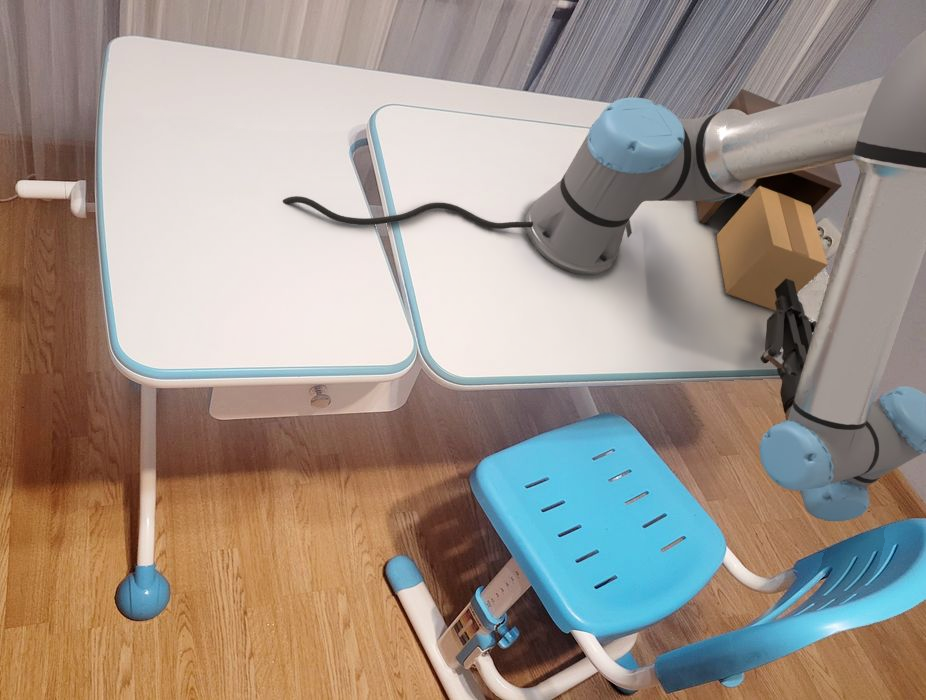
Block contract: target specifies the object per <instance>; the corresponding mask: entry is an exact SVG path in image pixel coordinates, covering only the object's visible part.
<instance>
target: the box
mask: <svg viewBox="0 0 926 700" xmlns="http://www.w3.org/2000/svg"><path fill="white" fill-rule="evenodd" d="M814 215H815V214H814ZM814 215H813V212H812V208H811V206H810V205H808V204H805V203H803V202H800V201H798V200H795V199H793V198H791V197H788V196H786V195H783V194H780V193H777V192H774V191H772V190H769V189H766V188H764V187H761V186H759V187H758V188H756V189H755V190H754V191H753V193H752V194H750V196H749V197H748V198H747V200H745V202H744V203H743V204H742V205H741V207H739V209H738V210H737V211H736V212H735V213H734V215H733V216H732V217H731V218H729V220H728V222H727V223H726V224H725V225H724V226H723V227H722V228H721V230H720V231H718V233H716V235H715V237H716V241H717V247H718V248H717V249H718V253H719V254H718V255H719V260H720V265H721V273H722V277H723V283H724V289H725V290H724V291H725V295H730V296H732V297H735V298H738V299H740V300H744V301H747V302H749V303H752V304H755V305H758V306H761V307H764V308H766V309H769V310H772V311H774V312H775V311H776V305H775V301H776V300H777V298H776V293H775V289H776V288H777V287H778V286H779V285H780V284H781V283H782V282H783V281H784V280H785V279H789V280H792V281H794V283H795V287H796V291H797V294H798V293H799V292H801V290H802V289H803V288H805V286H807V285H808V284H809V283H810V282H811V281H812V280H814V278H816V276H818V275H819V274H820V273H821V272H822V271H823V270H824V269H825V268H826V267H827V266H829V264H828V260H827V257H826V254H825V250H824V245H823V244H822V240H821V236H820V233H819V229H818V226H817V223H816V218H815V216H814Z"/></svg>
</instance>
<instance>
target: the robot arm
mask: <svg viewBox="0 0 926 700" xmlns="http://www.w3.org/2000/svg"><path fill="white" fill-rule="evenodd" d="M781 105H782V104H781ZM726 109H727V108H726ZM726 109H723V110H721V111H717V112H714V113H710V114H707V115H704V116H703V115H702V116H699V117H696V118H686V119H685V118H678V116H677V115H675V113H674V112H673V111H671V110H670V109H669V108H667V107H666V106H664V105H663V104H660V103H659V104H655V103H654V101H653V100H651V99H647V98H642V97H631V96H630V97H623V98H620V99H616V100H614V101H612V102H611V103H610V104H608V105H607V106H606V107H605V108H604V109H603V111H602V112H601V113H600V115H599V117H598V118H597V119H595V120H594V122H593V123H592V125H591V126H590V127H589V131H588V133H587V135H586V136H585V138H584V140H583V141H582V143H581V145H580V147H579V149H578V150H577V152H576V154H575V156H574V157H573V158H572V161H571V162H570V164H569V166H568V168H567V170H566V171H565V173H564V174H563V176H562V178H561V180H560V181H558V182H557V183H556V184H555V185H554V186H552V187H551V188H550V189H548V190H547V191H546V192H544V193H543V194H542V195H541V196H540V197H538V198H537V199H536V200H535V201H534V202H533V204H532V205H531V207H530V208H529V210H528V211H527V214H526V217H525V221H508V222H494V221H489V220H486V219H484V218H482V217H479V216H477V215H476V214H473V213H472V212H470V211H468V210H466V209H465V208H462V207H460V206H458V205H455V204H453V203H447V202H429V203H427V204H426V203H425V204H423V205H421V206H418V207H416V208H415V209H411V210H410V211H406V212H404V213H400V214H395V215H387V216H381V217H370V218H368V217H367V218H366V217H365V218H362V217H361V218H359V217H350V216H344V215H340V214H338V213H335V212H333V211H331V210H330V209H328V208H326V207H325V206H324V205H322V204H320V203H318V202H317V201H315V200H313V199H311V198H308V197H305V196H300V195H299V196H298V195H296V196H288V197H286V198H284V199H282V203H283V204H284V205H291V204H304V205H307V206H309V207H311V208H313V209H314V210H316V211H318V212H319V213H321V214H322V215H324V216H325V217H327V218H329V219H332V220H333V221H336V222H339V223H343V224H347V225H357V226H373V225H383V224H390V223H396V222H401V221H405V220H408V219H411V218H413V217H416V216H417V215H420V214H422V213H424V212H427V211H430V210H436V209H439V210H440V209H443V210H448V211H452V212H455V213H456V214H459V215H461V216H464V217H465V218H467V219H469V220H471V221H473V222H474V223H475V224H479V225H481V226H484V227H486V228H489V229H490V228H491V229H495V230H503V229H519V228H522V229H523V228H525V230H526V233H527V235H528V238H529V240H530V242H531V244H532V245H533V246H534V248H535V249H536V250H537V251H538V253H540V255H542V256H543V257H544V258H545V259H546V260H547V261H549V262H550V263H551V264H553V265H554V266H557V267H558V268H560V269H562V270H565V271H567V272H570V273H573V274H577V275H583V276H593V275H598V274H601V273H604V272H605V271H607V270H608V269H609V268H610V267H611V266H612V264H613V263H614V262H615V260H616V259H617V257H618V255H619V252H620V248H621V245H622V242H623V238H624V235H625V232H626V236H627V238H629V237H630V236H631V234H632V233H633V232H632V227H631V221H630V219H631V218H632V217H633V215H634V214H635V212H636V211H637V210H638V209H639V207H640V206H641V204H643V203H644V202H662V201H663V202H664V201H665V202H666V201H667V202H670V201H672V202H677V201H678V202H686V201H687V202H688V201H689V202H692V201H693V202H696V201H703V202H714V201H719V200H723V199H725V200H726V199H730V198H732V197H734V196H737V194H741V193H743V192H745V191H748V190H749V189H750V188H751V187H753V186H752V185H753V184H754V183H755V182H756V180H757V179H758V178H762V177H768V176H773V175H778V174H783V173H789V172H794V171H799V170H805V169H810V168H815V167H821V166H826V165H831V164H835V165H837V164H841V163H847V162H852V161H854V162H855V163H856V165H857V167H858V168H859V174H858V178H857V181H856V184H855V188H854V191H853V194H852V198H851V201H850V205H849V209H848V213H847V215H846V219H845V222H844V224H843V225H844V226H843V229H842V232H841V236H840V240H839V243H838V246H837V250H836V253H835V257H834V260H833V264H832V267H831V271H830V274H829V278H828V280H827V284H826V287H825V291H824V295H823V298H822V301H821V304H820V309H819V311H818V315H817V319H816V320H813V321H811V320H810V318H809V316H808V315H806V314H805V309H804V306H803V303H802V302H801V301H800V300H799V296H798V293H797V291H796V287H795V283H794V281H792V280H789V279H785V280H784V281H783V282H782V283H781V284H780V285H779V286H778V287H777V288H776V289H775V293H776V298H777V300H776V301H775V305H776V311H775V310H774V312H773V313H772V314H771V315H769V317H768V318H767V319H766V327H765V328H766V329H765V340H764V352H763V353H762V355H760V361H761V362H762V363H763V364H768V363H769V362H770V363H771V364H772V365H773V366H774V367H776V373H777V375H778V376H779V378H780V380H781V386H780V392H779V393H780V394H779V395H780V398H781V404H782V408H783V412H784V415H785V420H781V422H778V423H777V424H774V425H773V426H771V427H769V428H768V430H767V431H766V432H765V433H764V434H763V435H762V437H761V440H760V444H759V458H760V462H761V465H762V467H763V469H764V471H765V472H766V474H767V476H768V477H769V478H770V479H771V480H772V481H773V482H774V483H776V484H777V485H778V486H779V487H782V488H783V489H786V490H789V491H799V492H800V495H801V499H802V502H803V505H804V508H805V510H806V512H807V513H808V514H809V515H811V516H813V517H814V518H816V519H818V520H823V521H824V522H845V521H850V520H853V519H856V518H859V517H861V516H863V515H864V514H865V513H866V512H867V510H868V508H870V503H871V502H870V496H869V495H870V494H871V493H870V491H869V490H868V487H869V486H870V485H872V484H874V483H875V482H877V481H878V480H879V479H880V478H882V477H883V476H886V475H887V474H889V473H890V472H893V471H894V470H896V469H897V468H900V467H901V466H903V465H905V464H906V463H908V462H910V461H911V460H914V459H915V458H916V457H917V458H918V457H919V456H921V455H922V454H924V455H925V454H926V394H925V392H922V391H921V390H919V389H917V388H915V387H911V386H906V385H905V386H897V387H895V388H893V389H892V390H890V391H888V392H887V393H885V394H883V393H882V394H881V395H879V398H877V399H876V400H875V398H876V395H877V394H878V393H877V392H878V390H879V386H880V384H881V381H882V378H883V375H884V372H885V369H886V367H887V363H888V360H889V358H890V355H891V352H892V348H893V346H894V343H895V340H896V337H897V334H898V331H899V329H900V325H901V322H902V319H903V317H904V314H905V312H906V308H907V305H908V301H909V299H910V297H911V293H912V290H913V287H914V284H915V281H916V278H917V275H918V273H919V270H920V266H921V264H922V262H923V261H922V260H923V259H924V258H923V257H924V255H925V252H926V30H924V31H922V33H920V34H919V35H917V36H916V37H915V38H914V39H912V40H911V42H909V44H907V45H906V47H904V49H902V51H901V52H900V53H899V54H898V56H897V57H896V58H895V59H894V60H893V62H892V63H891V64H890V66H889V68H888V69H887V71H886V73H885V74H884V75H883V76H882V77H879V78H875V79H871V80H868V81H864V82H860V83H857V84H854V85H850V86H846V87H843V88H839V89H836V90H833V91H828V92H825V93H821V94H818V95H814V96H810V97H808V98H804V99H800V100H797V101H793V102H789V103H786V104H783V105H782V106H779V107H775V108H772V109H768V110H764V111H761V112H757V113H754V114H750V115H747V114H745V113H744V112H742V111H740V110H736V109H727V110H726ZM625 230H626V231H625Z"/></svg>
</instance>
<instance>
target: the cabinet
mask: <svg viewBox="0 0 926 700" xmlns="http://www.w3.org/2000/svg"><path fill="white" fill-rule="evenodd" d="M779 106H782V104H780V103H778V102H775V101H774V100H770V99H768V98H766V97H763V96H761V95H758V94H756V93H753V92H751V91H748V90H747V89H744V88H741V89H740V90H739V91H738V93H737V94H736V96H735V97H734V98H733V99H732V101H731V102H730V103H729V105H728V106H727V108H726V109H725V110H727V109H736V110H740V111H742V112H744V113H745V114H747V115H750V114H754V113H757V112H761V111H764V110H768V109H772V108H775V107H779ZM759 186H761V187H764V188H766V189H769V190H772V191H774V192H777V193H780V194H783V195H786V196H788V197H791V198H793V199H795V200H798V201H800V202H803V203H805V204H808V205H810V206H811V208H812V212H813V215H815V214H816V213H817V212H818V211H819V210H820V209H821V208H822V207H823V206H824V205H825V204H826V203H827V202H828V201H829V200H830V199H831V198H832V196H834V195H835V193H836V192H837V191H838V190H840V188H841V187H842V186H843V185H842V182H841V178H840V176H839V173H838V170H837V167H836V164H831V165H826V166H821V167H815V168H810V169H805V170H799V171H794V172H789V173H783V174H778V175H773V176H768V177H762V178H758V179H757V180H756V182H755V183H754V184H753V185H752V186H751V187H755V188H756V189H757V188H758V187H759ZM725 201H726V199H723V200H719V201H714V202H703V201H695V203H696V209H697V216H698V222H699V223H701V224H704V225H706V224H707V223H708V221H709V220H710V218H712V216H713V215H714V214H715V213H716V211H717V210H719V208H720V206H722V204H723V203H724V202H725Z"/></svg>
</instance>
